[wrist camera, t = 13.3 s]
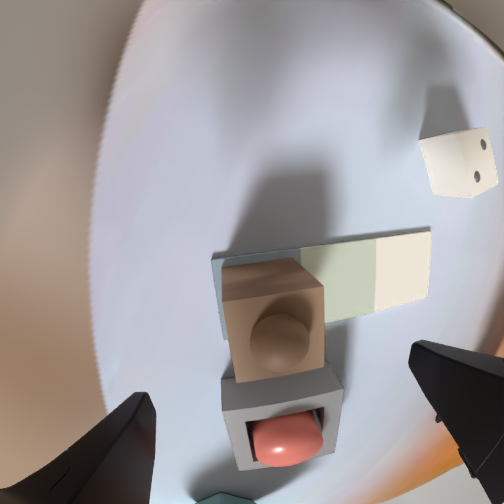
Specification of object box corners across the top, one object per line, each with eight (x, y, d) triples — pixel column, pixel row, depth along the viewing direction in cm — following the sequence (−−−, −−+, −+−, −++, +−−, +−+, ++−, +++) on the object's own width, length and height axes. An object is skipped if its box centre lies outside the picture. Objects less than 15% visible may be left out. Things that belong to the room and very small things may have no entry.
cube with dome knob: (292, 257, 15) (338, 300, 9) (296, 320, 16) (335, 386, 10) (221, 267, 15) (222, 319, 9) (231, 331, 16) (239, 405, 10)
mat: (428, 230, 16) (431, 231, 16) (424, 296, 18) (427, 297, 17) (211, 259, 15) (210, 260, 15) (223, 337, 16) (223, 339, 16)
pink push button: (309, 387, 17) (325, 422, 14) (308, 425, 18) (321, 458, 15) (246, 399, 17) (252, 436, 13) (253, 436, 18) (259, 470, 14)
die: (449, 132, 15) (488, 126, 11) (462, 181, 16) (500, 183, 12) (417, 140, 15) (458, 133, 11) (432, 194, 16) (474, 198, 12)
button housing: (327, 361, 18) (344, 388, 14) (322, 426, 19) (334, 452, 16) (220, 379, 17) (221, 411, 14) (236, 442, 19) (239, 471, 15)
